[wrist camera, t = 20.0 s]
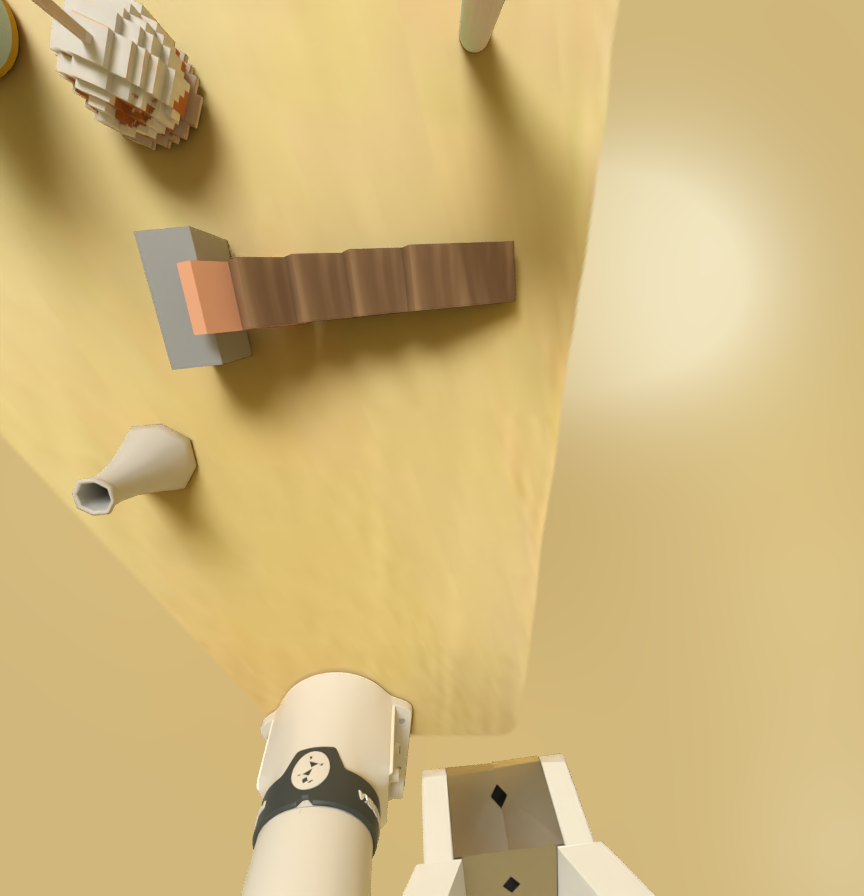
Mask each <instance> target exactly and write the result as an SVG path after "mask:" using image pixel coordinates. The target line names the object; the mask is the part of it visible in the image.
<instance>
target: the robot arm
mask: <svg viewBox="0 0 864 896" xmlns="http://www.w3.org/2000/svg"><path fill="white" fill-rule="evenodd" d="M411 719H412V705H411V704H410V703H408V702H407V701H404V700H402V699H399V698H396V697H393V696H391V695H390V694H388V693H387V692H386V691H385V690H384V689H382V688H381V687H380V686H379V685H377V684H376V683H374V682H373V681H371V680H369V679H367V678H365V677H362V676H359V675H356V674H351V673H344V672H330V673H323V674H318V675H314V676H312V677H309V678H307V679H305V680H303V681H301V682H299V683H298V684H296V685H295V686H294V687H293V688H292V689H290V691H289V692H288V693H287V694H286V695H285V697H284V699H283V700H282V702H281V704H280V706H279V707H278V709H277V710H276V711H274V712H273V713H271V714H270V715H268V716H267V717H266V718H265V719H264V720H263V722H262V725H261V734H262V736H263V738H264V739H265V741H266V747H265V752H264V755H263V759H262V763H261V768H260V771H259V776H258V780H257V790H259V792H260V795H261V797H262V798H263V802H262V805H261V808H260V810H259V812H258V816H257V819H256V823H255V832H254V836H253V850H254V851H253V854H252V858H251V861H250V865H249V868H248V872H247V876H246V879H245V883H244V886H243V889H242V893H241V896H371V870H372V858H373V856H374V854H375V851H376V848H377V843H378V840H379V834H380V829H381V828H382V827H383V826H384V825H385V824H386V822H387V808H388V807H387V806H388V801H389V800H392V799H401V798H403V790H404V784H405V775H406V765H407V756H408V747H409V738H410V728H411ZM422 808H423V810H422V811H423V847H424V863H422V864H417V865H416V867H415V869H414V871H413V873H412V875H411V877H410V880H409V882H408V884H407V886H406V888H405V890H404V892H403V894H402V896H655V895H654V894H653V893H652V892H651V891H650V890H649V889H648V888H647V887H646V886H645V885H644V883H642V881H640V880H639V878H638V877H637V876H636V875H635V874H634V873H633V872H632V871H631V870H630V869H629V868H628V867H627V866H626V865H625V864H624V863H623V862H622V861H621V860H620V859H619V858H618V857H617V856H616V855H615V854H614V853H613V852H612V851H611V850H610V849H609V848H608V847H607V846H606V845H605V843H604V842H603V841H594V839H593V836H592V833H591V830H590V828H589V825H588V822H587V819H586V816H585V814H584V811H583V808H582V805H581V802H580V800H579V797H578V794H577V791H576V788H575V786H574V782H573V780H572V777H571V774H570V771H569V768H568V766H567V763H566V760H565V758H564V757H563V755H562V754H560V753H559V754H553V755H547V756H539V757H537V756H532V757H525V758H518V759H511V760H504V761H497V762H492V763H489V764H479V765H468V766H459V767H450V768H447V771H446V768H439V769H430V770H423V772H422Z"/></svg>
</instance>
